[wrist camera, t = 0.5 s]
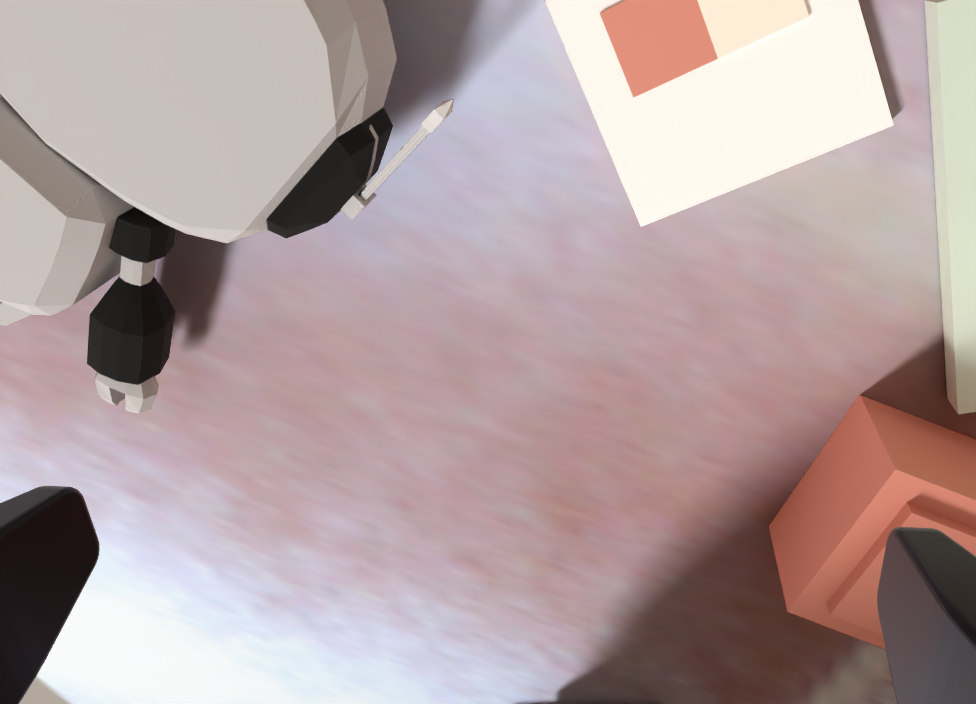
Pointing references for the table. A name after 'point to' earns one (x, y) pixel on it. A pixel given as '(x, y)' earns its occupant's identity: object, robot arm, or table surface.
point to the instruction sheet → (719, 89)
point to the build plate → (955, 185)
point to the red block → (869, 511)
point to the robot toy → (176, 148)
